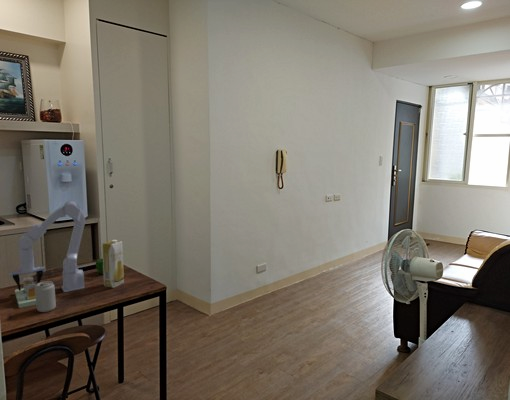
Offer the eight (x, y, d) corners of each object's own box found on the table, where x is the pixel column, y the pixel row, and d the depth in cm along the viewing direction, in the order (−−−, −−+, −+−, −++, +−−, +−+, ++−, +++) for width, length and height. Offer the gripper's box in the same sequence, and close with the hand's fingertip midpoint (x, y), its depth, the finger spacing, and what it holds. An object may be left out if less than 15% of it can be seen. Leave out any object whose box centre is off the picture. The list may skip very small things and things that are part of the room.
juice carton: (113, 289, 190) (111, 242, 186) (101, 286, 193) (99, 241, 189) (126, 282, 198) (124, 238, 195) (114, 280, 201) (112, 237, 198)
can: (41, 306, 169) (39, 280, 167) (58, 305, 170) (57, 280, 168) (33, 313, 162) (31, 286, 160) (51, 312, 162) (49, 286, 161)
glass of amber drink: (36, 299, 176) (35, 282, 175) (37, 302, 173) (36, 285, 172) (26, 301, 174) (25, 284, 173) (27, 304, 171) (26, 287, 170)
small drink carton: (33, 292, 185) (32, 276, 183) (34, 294, 181) (33, 278, 180) (24, 294, 182) (22, 278, 181) (25, 296, 179) (23, 280, 178)
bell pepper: (100, 276, 208) (100, 258, 206) (93, 273, 213) (92, 255, 212) (115, 272, 214) (114, 255, 213) (107, 269, 219) (106, 252, 218)
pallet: (41, 288, 189) (40, 285, 188) (47, 302, 173) (46, 298, 173) (15, 293, 182) (14, 289, 182) (19, 308, 166) (18, 303, 166)
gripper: (42, 256, 187) (44, 282, 189) (8, 261, 178) (10, 288, 180) (45, 259, 181) (47, 286, 183) (9, 265, 172) (11, 293, 174)
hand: (29, 288), depth 181 cm, fingers open, 7 cm apart
